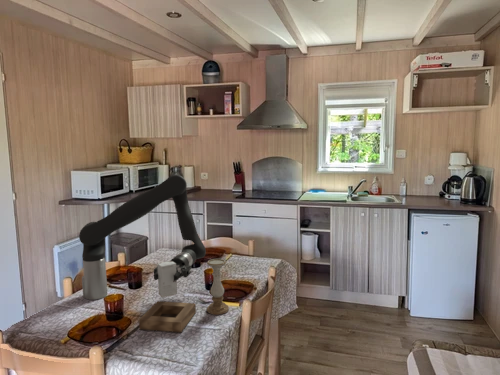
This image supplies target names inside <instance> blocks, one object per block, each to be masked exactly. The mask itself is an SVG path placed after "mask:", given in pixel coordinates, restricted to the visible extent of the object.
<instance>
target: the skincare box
mask: <svg viewBox="0 0 500 375" xmlns="http://www.w3.org/2000/svg"><path fill="white" fill-rule="evenodd" d="M156 265H157V266H158V279H157V284H158V285H157V286H158V295H159V296H160V297H161V298H167V297H172V296H177V294H178V282H177V280H176V281H174V275H175V274H176V263H174V262H173V261H170V260H169V261H163V262H158V263H157V264H156ZM157 266H156V267H157Z"/></svg>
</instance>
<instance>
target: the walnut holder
mask: <svg viewBox="0 0 500 375" xmlns="http://www.w3.org/2000/svg"><path fill="white" fill-rule="evenodd" d="M196 309H197V308H196V303H193V302H192V303H191V302H180V301H179V302H177V301H164V300H163V301H162V300H161V301H160V300H159V301H158V300H157V301H156V302H155V303H154V304H153V305H152V306H150V308H149V309H148V310H147V311H145V313H144V314H143V315H141V317H140V318H139V319H138V326H139V331H147V332H148V331H150V332H159V333H160V332H161V333H175V334H182V333H183V332H184V330H185V329H186V328H187V326H188V325H189V323H190V322H191V321H192V319H193V318H194V317H195V315H196V313H197V310H196Z"/></svg>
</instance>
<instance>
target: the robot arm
mask: <svg viewBox="0 0 500 375" xmlns="http://www.w3.org/2000/svg"><path fill="white" fill-rule="evenodd" d="M187 184H188V183H187V180H186V179H185V178H184V176H181V175H180V174H174V175H170V176H169V177H168V178H166V179H165V180H164V181H162V182H161V183H159V184H158V185H156V186H155V187H154V188H151V189H149V190H147V191H145V192H143V193H140V194H138V195H137V196H134V197H132V198H131V199H129V200H127V201H126V202H124V203H123V204H121V205H119V206H118V207H117V208H116V209H114V210H112V212H110V213H109V214H108V215H107V216H105V217H103V218H101V219H99V220H98V221H91V222H88V223H86V224H85V225H84V226H83V227H81V230H80V232H79V233H78V235H79V236H78V238H79V241H80V243H81V244H82V245H83V248H82V267H83V268H82V270H83V275H82V276H81V285H82V297H83V299H86V300H90V301H93V300H95V301H96V300H100V299H103V298H104V297H106V296H108V280H107V262H106V238H107V237H108V236H109V235H112V234H113V233H114V232H115V231H117V230H119V229H122V228H125V227H126V226H128V225H130V224H132V223H134V222H136V221H137V220H140V219H141V218H143V217H144V216H146V215H148V213H150V212H152V211H153V210H154V209H155V208H156V207H158V206H159V205H161V204H162V203H163V202H165V201H167V200H170V199H172V200H173V203H174V207H175V211H176V217H177V222H178V227H179V230H180V235H181V239H182V240H183V241H191V242H192V243H193V244H192V243H191V244H188V245H185V246H183V247H182V250H181V251H180V252H179V253H178V254H176V255H175V256H174V257H173V258H172V259H170V260H169V261H173V262H174V263H176V274H175V275H174V281H176V280H178V281H179V279H182V278H185V279H186V278H187V277H188V276H190V274H191V275H192V265H193V264H194V263H195V261H197V260H199V259H202V258H205V256H206V254H207V253H206V252H207V249H206V247H205V244H204V243H203V241H202V239H201V237H200V236H199V233H198V231H197V228H196V224H195V220H194V217H193V214H192V210H191V209H190V208H191V207H190V204H189V201H188V191H187V187H188V186H187ZM153 279H154V281H158V266H156V267H155V268H154V269H153Z"/></svg>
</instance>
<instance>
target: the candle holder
mask: <svg viewBox="0 0 500 375" xmlns="http://www.w3.org/2000/svg"><path fill="white" fill-rule="evenodd" d="M206 264H207V267H208V266H209V267H211V269H212V270H213V272H212V274H211V275H212V276H213V283H212V286H211V288H210V295H211V296H212V297H211V301H213V302H211V303H210V304H209V305H208V306H207V307H206V312H207V313H209V314H210V315H215V316H216V315H224V314H225V313H226V314H227V312H228V311H229V310H230V307H229V305H228V304H226V303H225V302H223V300H224V296H223V295H224V294H225V288H224V286H223V283H222V280H221V276H222V274H223V273H222V272H221V269H222V268H223V267H224V266H225V265H227V261H226V259H222V258H212V259H209V260H208V261H207V262H206Z"/></svg>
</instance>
